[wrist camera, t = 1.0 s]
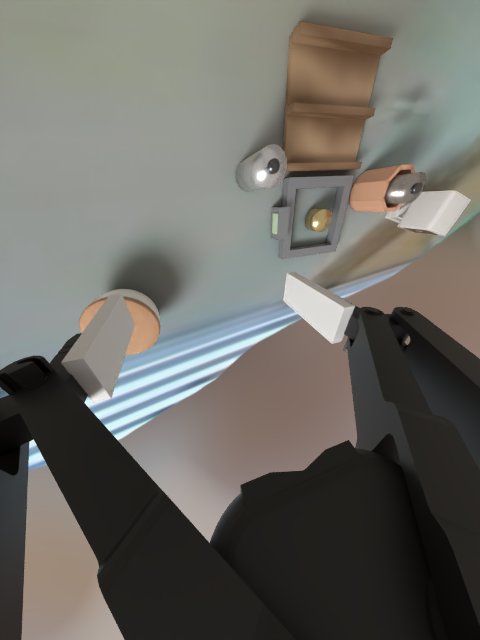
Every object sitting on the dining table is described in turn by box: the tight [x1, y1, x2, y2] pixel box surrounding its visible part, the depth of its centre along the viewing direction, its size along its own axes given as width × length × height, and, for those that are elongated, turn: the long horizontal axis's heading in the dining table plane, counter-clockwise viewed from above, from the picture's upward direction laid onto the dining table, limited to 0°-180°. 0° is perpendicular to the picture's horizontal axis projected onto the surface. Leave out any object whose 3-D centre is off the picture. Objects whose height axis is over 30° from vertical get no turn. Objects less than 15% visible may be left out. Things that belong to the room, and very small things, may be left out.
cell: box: [236, 144, 287, 192], centre depth 25 cm, size 4×4×10 cm
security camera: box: [385, 190, 470, 236], centre depth 36 cm, size 6×7×10 cm
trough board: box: [283, 21, 393, 172], centre depth 27 cm, size 13×14×2 cm
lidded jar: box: [79, 289, 160, 355], centre depth 30 cm, size 11×11×9 cm
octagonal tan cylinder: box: [349, 165, 415, 212], centre depth 33 cm, size 6×6×7 cm
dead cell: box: [384, 172, 426, 204], centre depth 31 cm, size 4×4×10 cm
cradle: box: [271, 175, 354, 259], centre depth 34 cm, size 13×15×3 cm
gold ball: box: [305, 209, 332, 232], centre depth 33 cm, size 4×4×3 cm
